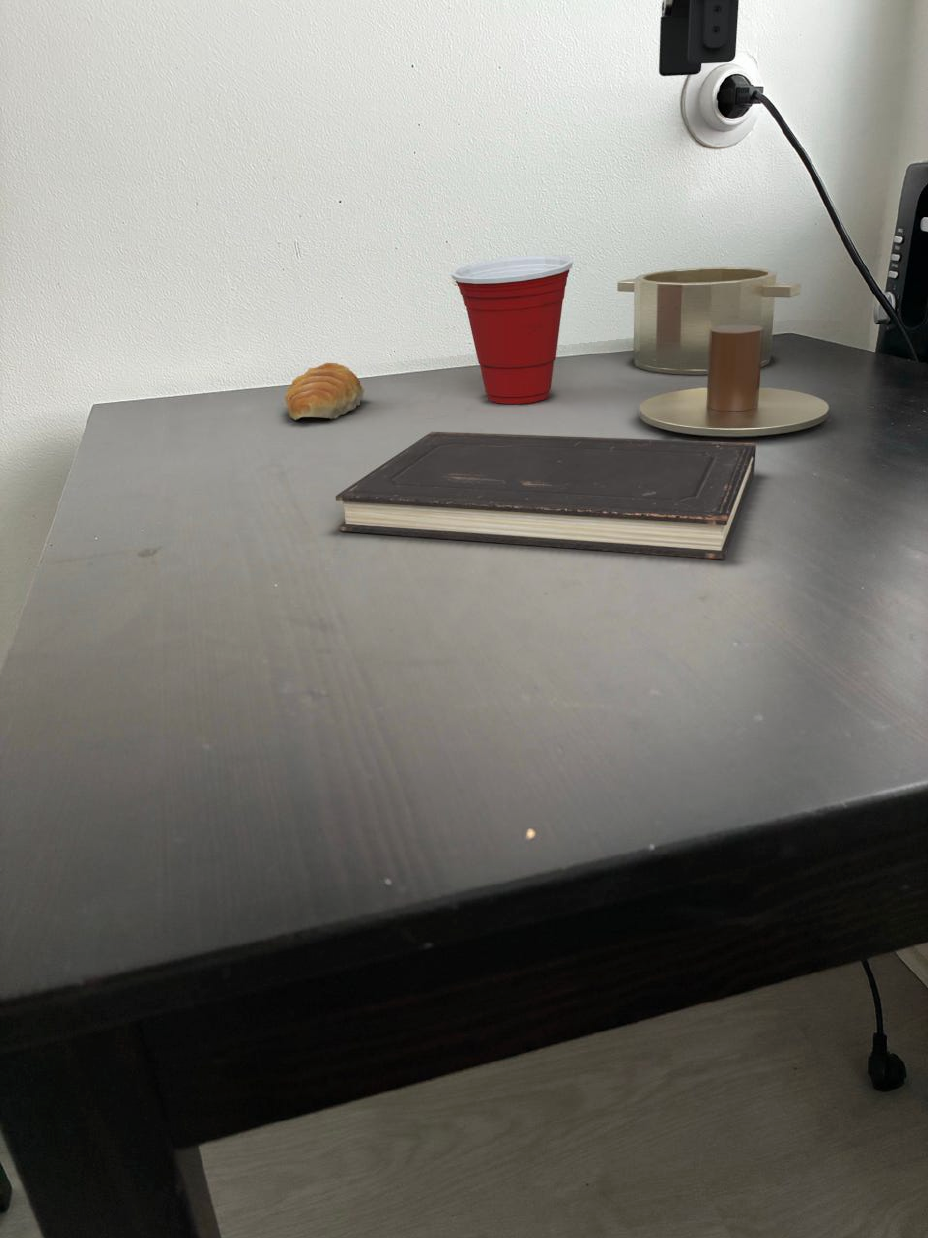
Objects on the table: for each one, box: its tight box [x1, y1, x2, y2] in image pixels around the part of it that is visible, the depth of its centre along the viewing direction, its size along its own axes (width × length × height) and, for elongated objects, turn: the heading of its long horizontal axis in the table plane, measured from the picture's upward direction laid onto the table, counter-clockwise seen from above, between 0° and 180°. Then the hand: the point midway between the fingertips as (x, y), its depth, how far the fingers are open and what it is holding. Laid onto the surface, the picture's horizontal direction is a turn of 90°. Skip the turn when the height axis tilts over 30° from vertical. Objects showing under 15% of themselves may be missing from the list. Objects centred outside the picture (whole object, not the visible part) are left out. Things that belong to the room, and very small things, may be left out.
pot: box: [616, 266, 802, 376], centre depth 101 cm, size 14×19×8 cm
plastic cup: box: [450, 254, 574, 405], centre depth 90 cm, size 11×11×12 cm
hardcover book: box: [335, 431, 757, 560], centre depth 63 cm, size 16×23×2 cm
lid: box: [638, 325, 830, 439], centre depth 78 cm, size 15×15×7 cm
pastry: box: [285, 362, 365, 421], centre depth 90 cm, size 9×7×4 cm
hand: (694, 68), depth 73 cm, fingers open, 9 cm apart
